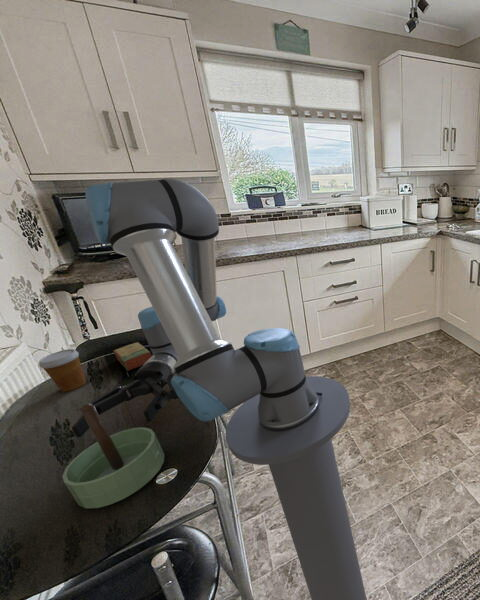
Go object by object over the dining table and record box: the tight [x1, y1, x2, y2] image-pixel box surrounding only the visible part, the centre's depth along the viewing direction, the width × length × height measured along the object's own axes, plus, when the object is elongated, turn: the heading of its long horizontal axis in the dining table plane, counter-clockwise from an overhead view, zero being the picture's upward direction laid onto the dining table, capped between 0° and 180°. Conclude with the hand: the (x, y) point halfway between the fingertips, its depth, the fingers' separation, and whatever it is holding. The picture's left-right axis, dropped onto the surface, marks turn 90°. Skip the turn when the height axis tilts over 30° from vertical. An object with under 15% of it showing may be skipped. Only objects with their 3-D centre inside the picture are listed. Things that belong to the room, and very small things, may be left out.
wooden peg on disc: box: [80, 402, 137, 478], centre depth 68 cm, size 7×7×19 cm
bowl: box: [62, 426, 165, 510], centre depth 70 cm, size 15×15×7 cm
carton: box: [112, 341, 153, 372], centre depth 124 cm, size 8×16×4 cm, turn 52°
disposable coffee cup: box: [38, 348, 87, 392], centre depth 109 cm, size 10×10×12 cm
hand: (112, 424), depth 71 cm, fingers open, 13 cm apart
